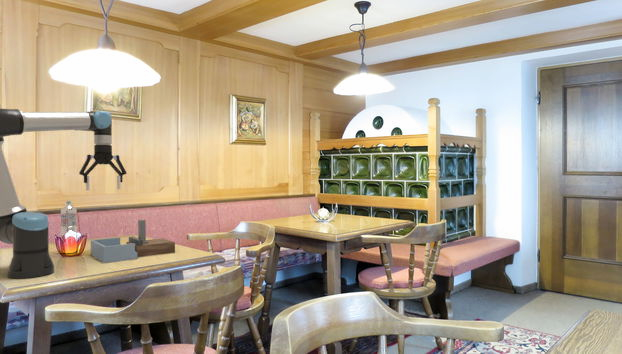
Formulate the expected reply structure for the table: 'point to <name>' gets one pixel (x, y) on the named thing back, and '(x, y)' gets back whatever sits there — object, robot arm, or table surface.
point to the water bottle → (68, 218)
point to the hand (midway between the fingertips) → (103, 189)
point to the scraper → (140, 234)
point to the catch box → (112, 250)
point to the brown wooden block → (155, 247)
